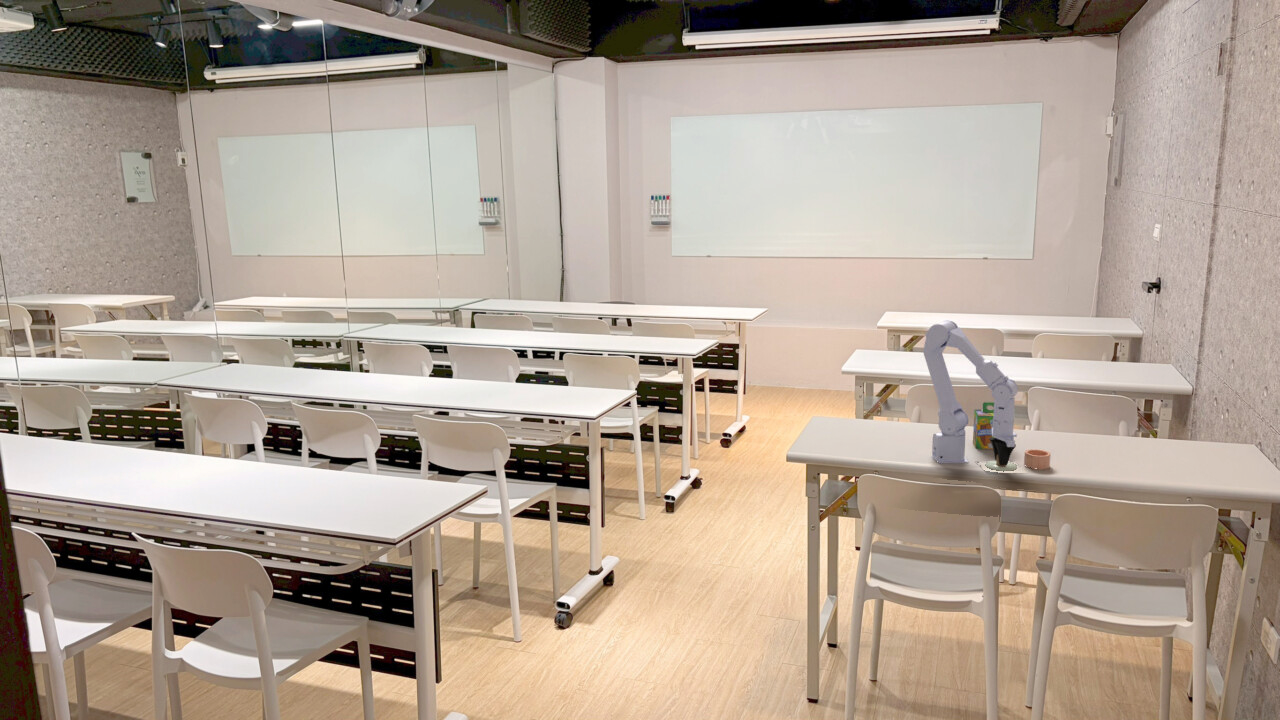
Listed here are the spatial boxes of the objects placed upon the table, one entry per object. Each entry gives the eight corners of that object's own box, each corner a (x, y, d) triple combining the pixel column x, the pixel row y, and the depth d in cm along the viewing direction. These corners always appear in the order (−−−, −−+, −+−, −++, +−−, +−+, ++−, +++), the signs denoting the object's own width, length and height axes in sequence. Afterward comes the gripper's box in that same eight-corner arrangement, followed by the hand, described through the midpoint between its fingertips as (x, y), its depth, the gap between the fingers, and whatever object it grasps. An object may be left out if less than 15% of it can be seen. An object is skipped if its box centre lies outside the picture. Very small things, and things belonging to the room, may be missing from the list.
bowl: (1029, 470, 258) (1030, 456, 257) (1020, 463, 265) (1021, 449, 264) (1053, 470, 258) (1054, 456, 257) (1043, 463, 265) (1044, 449, 264)
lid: (991, 472, 257) (992, 460, 256) (981, 462, 266) (981, 451, 265) (1022, 471, 257) (1022, 460, 256) (1010, 462, 265) (1011, 451, 265)
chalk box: (975, 450, 280) (977, 406, 277) (972, 442, 289) (973, 399, 286) (1006, 451, 278) (1008, 406, 275) (1001, 443, 287) (1003, 400, 284)
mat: (987, 475, 256) (987, 473, 256) (974, 462, 268) (974, 461, 267) (1028, 474, 255) (1029, 473, 255) (1013, 462, 267) (1014, 460, 267)
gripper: (1026, 426, 251) (1023, 470, 254) (1008, 413, 265) (1006, 455, 268) (1001, 426, 251) (999, 470, 254) (985, 413, 266) (983, 455, 268)
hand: (1001, 463), depth 261 cm, fingers closed on lid, 3 cm apart
